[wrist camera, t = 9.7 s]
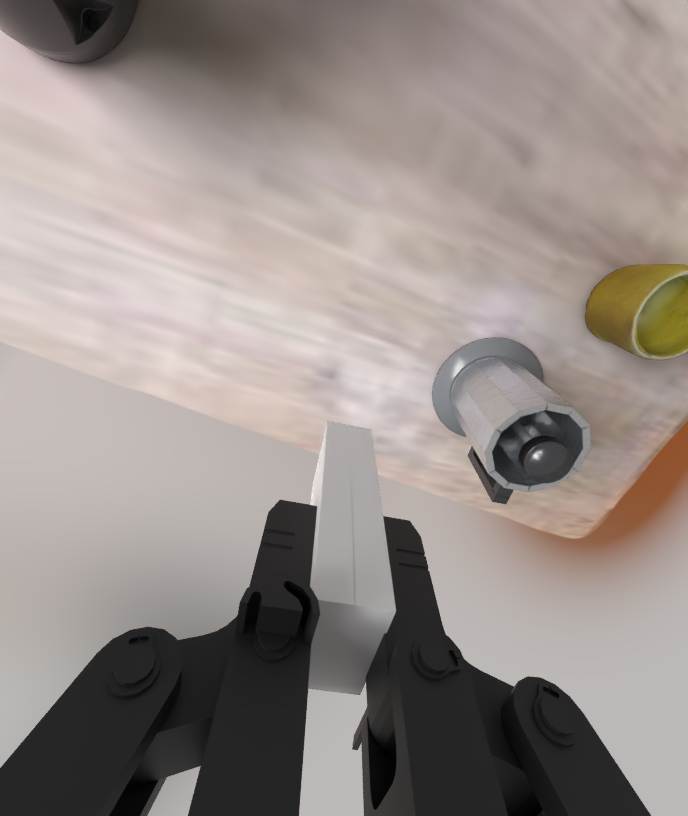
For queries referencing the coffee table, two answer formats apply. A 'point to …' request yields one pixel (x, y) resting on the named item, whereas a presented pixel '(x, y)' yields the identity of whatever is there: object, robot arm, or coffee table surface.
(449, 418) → the coaster
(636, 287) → the mug
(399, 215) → the coffee table surface
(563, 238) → the coffee table surface
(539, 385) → the grey french press
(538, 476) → the plunger
